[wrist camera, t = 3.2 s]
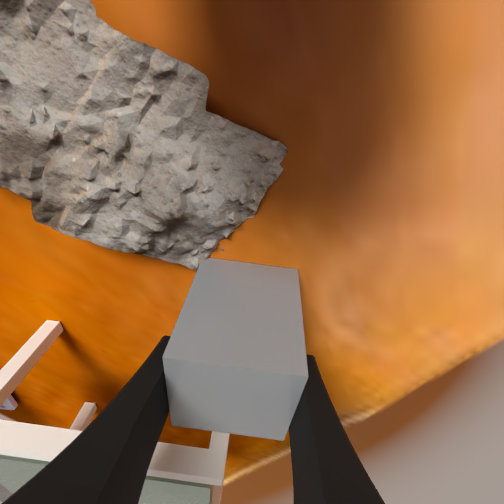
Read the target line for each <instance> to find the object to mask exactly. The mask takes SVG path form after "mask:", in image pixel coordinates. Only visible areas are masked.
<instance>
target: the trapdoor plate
mask: <svg viewBox="0 0 504 504" xmlns="http://www.w3.org/2000/svg"><path fill="white" fill-rule="evenodd" d="M48 463H50V462H49V461H42V460H35V459H28V458H21V457H14V456H7V455H0V500H1V501H2V502H4V501H5V500H6V499H8V498H9V497H10V496H11V495H12V494H14V493H15V492H16V491H17V490H18V489H20V488H21V487H22V486H23V485H24V484H25V483H27V482H28V481H29V480H30V479H31V478H33V477H34V476H35V475H36V474H37V473H38V472H39V471H41V470H42V469H43V468H44V467H45V466H46V465H47V464H48ZM212 494H213V485H209V484H202V483H195V482H188V481H181V480H174V479H167V478H160V477H154V476H147V475H146V478H145V482H144V485H143V489H142V492H141V496H140V499H139V503H138V504H212Z"/></svg>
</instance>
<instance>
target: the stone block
mask: <svg viewBox="0 0 504 504" xmlns="http://www.w3.org/2000/svg"><path fill="white" fill-rule="evenodd" d="M162 358H163V366H164V373H165V381H166V388H167V395H168V403H169V410H170V418H171V425H172V426H179V427H186V428H193V429H201V430H208V431H215V432H222V433H230V434H237V435H244V436H252V437H259V438H266V439H273V440H281V441H284V439H285V436H286V433H287V431H288V428H289V426H290V423H291V421H292V418H293V415H294V413H295V410H296V408H297V405H298V403H299V400H300V397H301V395H302V392H303V390H304V387H305V385H306V382H307V379H308V367H307V357H306V346H305V336H304V326H303V316H302V305H301V295H300V285H299V274H298V269H291V268H283V267H276V266H268V265H261V264H253V263H246V262H238V261H230V260H223V259H215V258H207V259H206V260H205V261H203V262H201V263H200V265H199V267H198V270H197V272H196V275H195V277H194V280H193V282H192V285H191V287H190V290H189V292H188V295H187V297H186V300H185V302H184V305H183V307H182V310H181V312H180V315H179V317H178V320H177V322H176V325H175V327H174V330H173V332H172V335H171V337H170V339H169V342H168V344H167V347H166V349H165V352H164V354H163V357H162Z"/></svg>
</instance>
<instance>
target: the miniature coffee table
mask: <svg viewBox="0 0 504 504" xmlns="http://www.w3.org/2000/svg"><path fill="white" fill-rule="evenodd" d="M62 332H63V328H62V325H61V323H60V322H59V321H52V320H46V322H45V323H44V324H43V325H42V326H41V327H40V328H39V329H38V330H37V331H36V332H35V333H34V335H33V336H32V337H31V338H30V339H29V340H28V341H27V342H26V343H25V344H24V345H23V346H22V348H21V349H20V350H19V351H18V352H17V353H16V354H15V355H14V356H13V357H12V358H11V359H10V361H9V362H8V363H7V364H6V365H5V366H4V367H3V368H2V369H1V370H0V407H1V406H2V404H3V403H4V402H5V401H6V400H7V398H8V397H9V396H10V395H11V394H12V392H13V391H14V390H15V389H16V387H17V386H18V385H19V384H20V383H21V381H22V380H23V379H24V378H25V377H26V375H27V374H28V373H29V372H30V370H31V369H32V368H33V367H34V366H35V364H36V363H37V362H38V361H39V360H40V358H41V357H42V356H43V355H44V353H45V352H46V351H47V350H48V349H49V347H50V346H51V345H52V344H53V343H54V341H55V340H56V339H57V338H58V336H59V335H60V334H61V333H62ZM96 409H97V407H96V404H95V403H90V402H85V403H84V405H83V407H82V408H81V410H80V412H79V414H78V415H77V417H76V419H75V420H74V422H73V424H72V426H71V427H70V429H65V428H58V427H50V426H43V425H36V424H29V423H22V422H15V421H8V420H1V419H0V455H7V456H14V457H21V458H28V459H35V460H42V461H49V462H51V461H52V460H53V459H54V458H55V457H56V456H57V455H58V454H59V453H60V452H61V451H63V450H64V449H65V448H66V447H67V446H68V445H69V444H70V443H71V442H72V441H73V440H74V439H75V438H76V437H77V436H78V435H79V434H80V433H81V432H82V431H83V430H84V429H85V428H86V427H87V426H88V424H89V422H90V421H91V419H92V417H93V415H94V413H95V411H96ZM229 436H230V433H222V432H215V431H212V435H211V440H210V445H209V449H206V448H198V447H191V446H184V445H177V444H170V443H163V442H158V443H157V445H156V448H155V451H154V453H153V456H152V459H151V462H150V465H149V468H148V471H147V476H154V477H160V478H167V479H174V480H181V481H188V482H195V483H202V484H209V485H213V494H212V504H220V502H221V494H222V488H223V480H224V473H225V466H226V458H227V451H228V444H229Z"/></svg>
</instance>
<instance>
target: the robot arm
mask: <svg viewBox="0 0 504 504" xmlns="http://www.w3.org/2000/svg"><path fill="white" fill-rule="evenodd" d="M170 337H171V336H164V337H162V339H161V340H160V342H159V343H158V345H157V346H156V347H155V349H154V350H153V351H152V353H151V354H150V356H149V357H148V358H147V359H146V361H145V362H144V363H143V365H142V366H141V367H140V368H139V370H138V371H137V372H136V373H135V374H134V376H133V377H132V378H131V379H130V380H129V382H128V383H127V384H126V385H125V386H124V388H123V389H122V390H121V391H120V392H119V393H118V394H117V396H116V397H115V398H114V399H113V400H112V401H111V402H110V403H109V404H108V405H107V407H106V408H105V409H104V410H103V411H102V412H101V413H100V414H99V415H98V416H97V417H96V418H95V419H94V420H93V421H92V422H91V423H90V424H89V425H88V426H87V427H86V428H85V429H84V430H83V431H82V432H81V433H80V434H79V435H78V436H77V437H76V438H75V439H74V440H73V441H72V442H71V443H70V444H69V445H68V446H67V447H66V448H65V449H64V450H63V451H61V452H60V453H59V454H58V455H57V456H56V457H55V458H54V459H53V460H52V461H51V462H50V463H48V464H47V465H46V466H45V467H44V468H43V469H42V470H41V471H39V472H38V473H37V474H36V475H35V476H34V477H33V478H31V479H30V480H29V481H28V482H27V483H25V484H24V485H23V486H22V487H21V488H20V489H18V490H17V491H16V492H15V493H14V494H12V495H11V496H10V497H9V498H8V499H6V500H5V501H4V502H3V503H2V504H138V503H139V499H140V496H141V492H142V489H143V485H144V482H145V478H146V475H147V471H148V468H149V465H150V462H151V459H152V456H153V453H154V451H155V448H156V445H157V443H158V440H159V437H160V435H161V432H162V429H163V427H164V424H165V421H166V419H167V416H168V413H169V403H168V395H167V388H166V381H165V373H164V366H163V358H162V357H163V354H164V352H165V349H166V347H167V344H168V342H169V339H170ZM306 357H307V367H308V379H307V382H306V385H305V387H304V390H303V392H302V395H301V397H300V400H299V403H298V405H297V408H296V410H295V413H294V415H293V418H292V421H291V423H290V426H289V434H290V446H291V458H292V469H293V487H294V504H385V503H384V501H383V500H382V498H381V496H380V495H379V493H378V491H377V489H376V488H375V486H374V484H373V483H372V481H371V480H370V477H369V476H368V474H367V472H366V470H365V469H364V467H363V465H362V463H361V462H360V460H359V458H358V456H357V454H356V452H355V451H354V448H353V446H352V444H351V442H350V441H349V438H348V437H347V434H346V433H345V430H344V428H343V426H342V424H341V422H340V420H339V418H338V415H337V413H336V411H335V409H334V407H333V404H332V402H331V400H330V397H329V395H328V393H327V390H326V388H325V385H324V383H323V380H322V378H321V375H320V372H319V369H318V366H317V364H316V360H315V357H314V356H313V355H307V354H306ZM17 406H18V404H17V402H16V401H15V399H14V398H13V397H12V395H10V396H9V397H8V398H7V400H6V401H5V402H4V403H3V404H2V406H1V407H0V409H5V410H15V408H16V407H17Z"/></svg>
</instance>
